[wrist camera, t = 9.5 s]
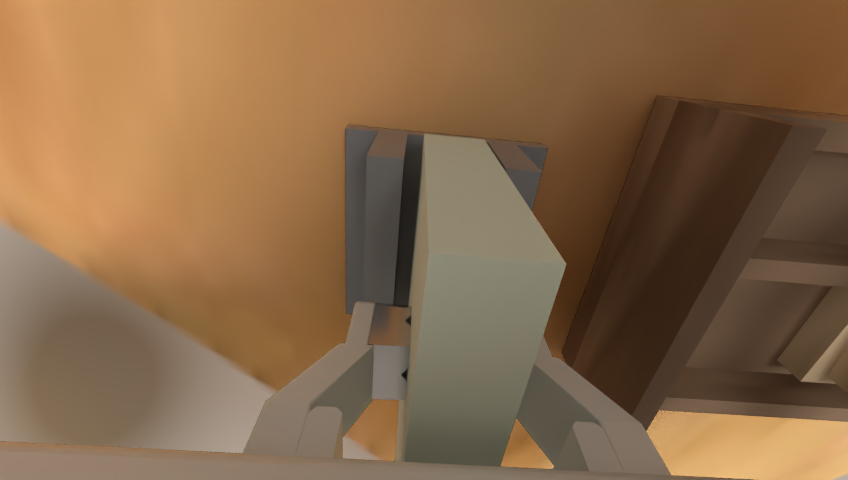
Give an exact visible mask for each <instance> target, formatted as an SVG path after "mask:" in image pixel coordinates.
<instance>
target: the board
mask: <svg viewBox="0 0 848 480" xmlns="http://www.w3.org/2000/svg"><path fill="white" fill-rule="evenodd" d="M565 267H566V263H565V261H564V260H563V258H562V257H561V255H560V254H559V252H558V251H557V249H556V248H555V246H554V244H553V243H552V241H551V240H550V238H549V237H548V235H547V234H546V232H545V231H544V229H543V228H542V226H541V225H540V223H539V222H538V220H537V219H536V217H535V216H534V214H533V213H532V211H531V210H530V208H529V207H528V205H527V204H526V202H525V201H524V199H523V198H522V196H521V194H520V193H519V191H518V190H517V188H516V187H515V185H514V184H513V182H512V181H511V179H510V178H509V176H508V175H507V173H506V172H505V170H504V169H503V167H502V166H501V164H500V163H499V161H498V160H497V158H496V157H495V155H494V154H493V152H492V151H491V149H490V147H489V146H488V144H487V143H486V141H485V140H482V139H472V138H462V137H452V136H441V135H431V134H424V141H423V151H422V162H421V172H420V183H419V193H418V203H417V214H416V224H415V235H414V245H413V255H412V266H411V276H410V287H409V297H408V306H412V311H411V323H410V326H411V341H410V354H409V364H408V369H407V382H406V391H405V400H399V407H398V424H397V440H396V457H395V461H400V462H420V463H439V464H459V465H478V466H497V467H500V465H501V462H502V459H503V456H504V453H505V450H506V447H507V444H508V441H509V438H510V434H511V431H512V428H513V425H514V422H515V419H516V416H517V413H518V410H519V407H520V404H521V401H522V398H523V395H524V392H525V389H526V386H527V383H528V380H529V377H530V374H531V371H532V368H533V365H534V362H535V359H536V356H537V352H538V349H539V346H540V343H541V340H542V337H543V334H544V331H545V328H546V325H547V322H548V319H549V316H550V313H551V310H552V307H553V304H554V301H555V298H556V295H557V292H558V289H559V286H560V283H561V280H562V277H563V273H564V270H565Z"/></svg>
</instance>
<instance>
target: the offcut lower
mask: <svg viewBox="0 0 848 480" xmlns="http://www.w3.org/2000/svg"><path fill="white" fill-rule="evenodd" d="M847 346H848V287H839V286H832V288H831V289H830V290H829V292H828V293H827V294H826V296H825V297H824V298H823V300H822V301H821V302H820V304H819V305H818V306H817V308H816V309H815V310H814V312H813V313H812V314H811V316H810V317H809V318H808V320H807V321H806V322H805V324H804V325H803V326H802V327H801V329H800V330H799V331H798V333H797V334H796V335H795V337H794V338H793V339H792V341H791V342H790V343H789V345H788V346H787V347H786V349H785V350H784V351H783V353H782V354H781V355H780V357H779V358H778V359H777V361H778V362H779V363H780V364H781V365H783V366H784V367H785V368H786V369H787V370H788V371H789V372H790V373H792V374H793V375H794V376H795V377H796V378H797V379H798V380H799V381H801V382H816V383H831V384H836V383H835V382H833V381H832V380H831V379H830V378H829V377H827V376H828V374H829V373H830V371H831V370H832V368H833V367H834V365H835V364H836V362H837V361H838V359H839V358H840V356H841V355H842V353H843V352H844V350H845V349H846V347H847Z"/></svg>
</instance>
